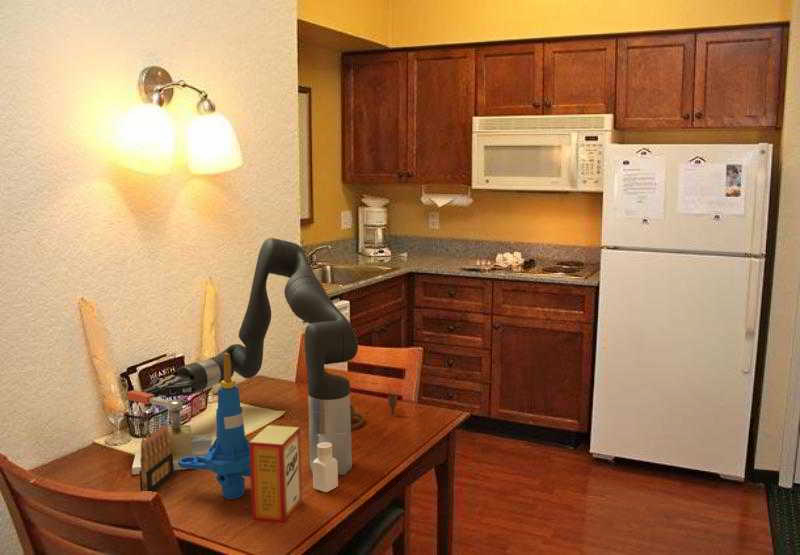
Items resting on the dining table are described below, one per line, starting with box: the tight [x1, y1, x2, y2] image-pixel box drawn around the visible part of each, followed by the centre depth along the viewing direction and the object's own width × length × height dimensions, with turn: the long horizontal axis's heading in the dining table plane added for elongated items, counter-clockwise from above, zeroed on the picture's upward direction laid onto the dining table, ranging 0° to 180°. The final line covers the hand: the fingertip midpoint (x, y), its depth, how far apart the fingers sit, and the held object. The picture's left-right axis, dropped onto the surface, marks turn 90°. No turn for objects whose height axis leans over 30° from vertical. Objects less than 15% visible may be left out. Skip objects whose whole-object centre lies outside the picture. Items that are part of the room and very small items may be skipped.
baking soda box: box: [248, 424, 303, 524], centre depth 144 cm, size 10×6×16 cm
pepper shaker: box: [312, 442, 339, 493], centre depth 154 cm, size 4×4×10 cm
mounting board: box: [131, 451, 204, 475], centre depth 168 cm, size 19×9×2 cm, turn 104°
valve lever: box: [126, 389, 184, 412], centre depth 170 cm, size 3×17×2 cm, turn 59°
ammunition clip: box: [139, 422, 175, 492], centre depth 156 cm, size 11×2×12 cm, turn 168°
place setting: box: [350, 394, 398, 431], centre depth 192 cm, size 18×20×6 cm
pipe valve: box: [145, 410, 213, 461], centre depth 167 cm, size 15×6×11 cm, turn 104°
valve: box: [178, 353, 251, 500], centre depth 150 cm, size 11×17×30 cm, turn 76°
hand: (143, 395), depth 173 cm, fingers closed
